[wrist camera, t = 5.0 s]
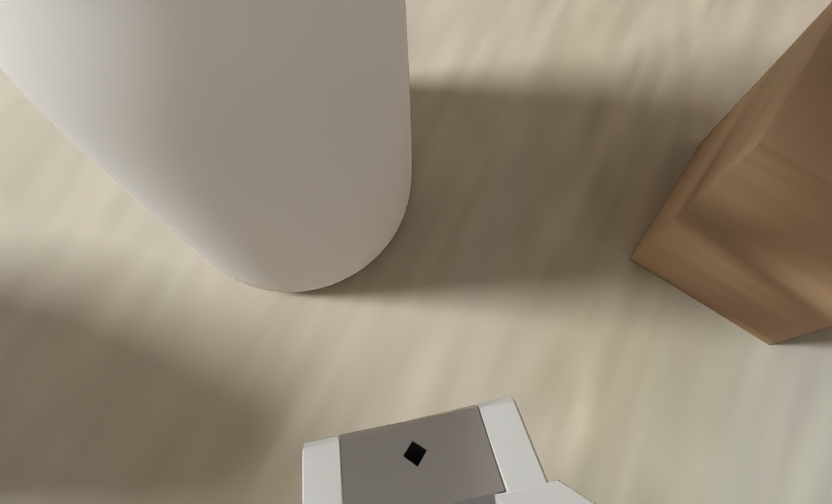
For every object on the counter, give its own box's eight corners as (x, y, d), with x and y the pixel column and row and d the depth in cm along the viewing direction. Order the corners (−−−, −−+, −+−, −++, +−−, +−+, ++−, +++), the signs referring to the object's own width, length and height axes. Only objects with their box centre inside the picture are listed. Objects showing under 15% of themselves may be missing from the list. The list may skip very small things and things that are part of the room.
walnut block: (837, 219, 23) (1090, 82, 14) (768, 344, 22) (998, 278, 13) (701, 141, 24) (864, -34, 15) (629, 258, 23) (760, 142, 14)
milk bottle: (454, 148, 24) (603, -1154, 4) (331, 341, 22) (-317, -413, 3) (268, 45, 25) (-269, -1356, 5) (136, 222, 23) (-1322, -922, 4)
